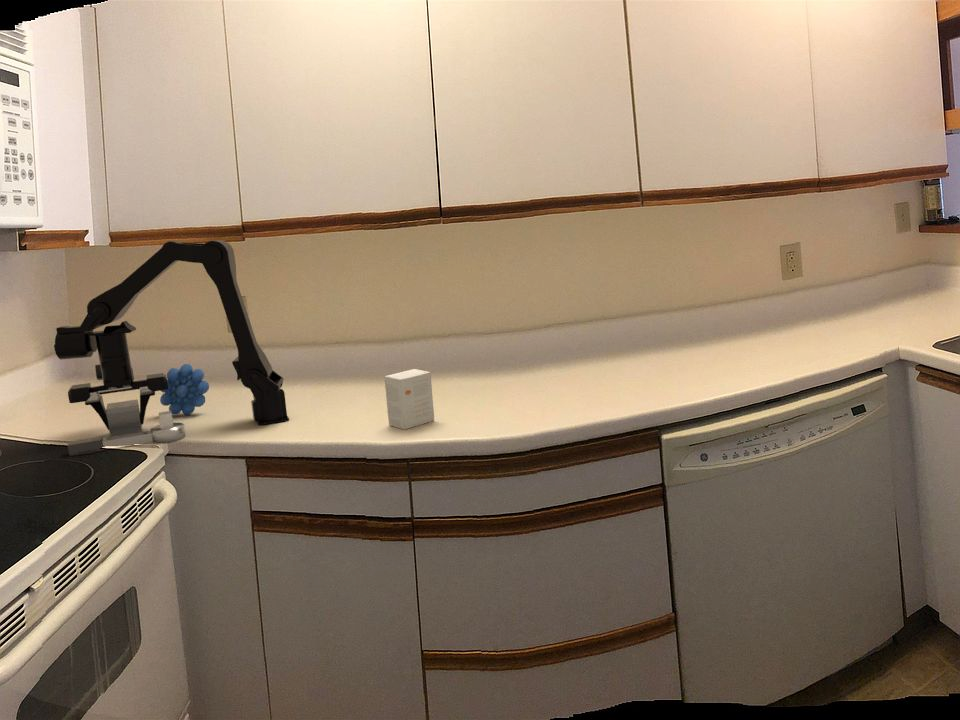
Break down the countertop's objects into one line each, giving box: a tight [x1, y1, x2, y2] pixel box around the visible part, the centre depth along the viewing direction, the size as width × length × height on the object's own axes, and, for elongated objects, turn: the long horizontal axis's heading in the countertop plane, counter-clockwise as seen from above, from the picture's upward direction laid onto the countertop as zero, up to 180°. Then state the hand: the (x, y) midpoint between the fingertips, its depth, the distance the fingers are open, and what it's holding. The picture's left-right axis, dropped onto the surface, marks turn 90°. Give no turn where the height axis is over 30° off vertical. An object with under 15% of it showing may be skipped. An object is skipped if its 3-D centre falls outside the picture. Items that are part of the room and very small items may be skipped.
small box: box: [383, 368, 435, 430], centre depth 151 cm, size 8×6×10 cm
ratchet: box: [67, 410, 186, 455], centre depth 148 cm, size 21×6×6 cm, turn 113°
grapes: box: [159, 363, 210, 416], centre depth 169 cm, size 12×7×12 cm, turn 88°
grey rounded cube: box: [105, 399, 143, 437], centre depth 156 cm, size 6×6×6 cm
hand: (125, 426), depth 157 cm, fingers closed on grey rounded cube, 6 cm apart
